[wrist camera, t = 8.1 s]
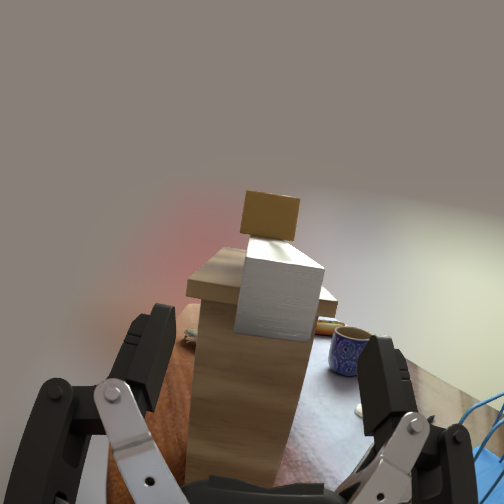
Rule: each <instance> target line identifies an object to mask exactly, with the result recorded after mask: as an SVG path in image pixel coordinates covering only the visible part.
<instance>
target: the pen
mask: <svg viewBox="0 0 504 504" xmlns="http://www.w3.org/2000/svg"><path fill="white" fill-rule="evenodd" d="M434 417H435V415H433V416H430V417H429V418H428V419H427V421H428V423H429V422H430V421H432V420H433V419H434Z"/></svg>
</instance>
